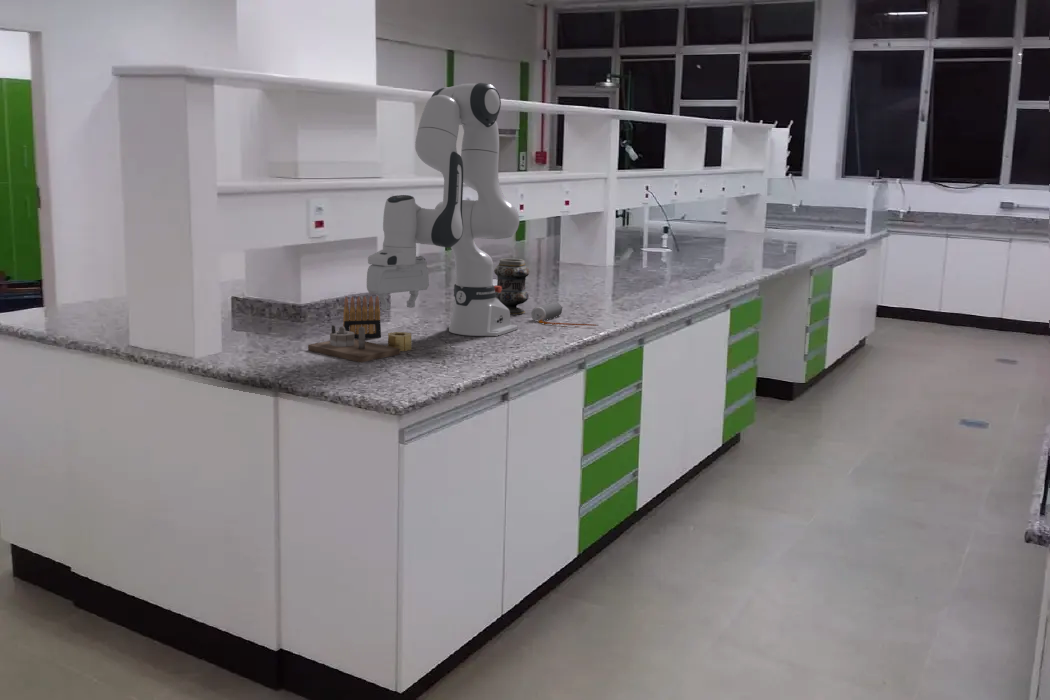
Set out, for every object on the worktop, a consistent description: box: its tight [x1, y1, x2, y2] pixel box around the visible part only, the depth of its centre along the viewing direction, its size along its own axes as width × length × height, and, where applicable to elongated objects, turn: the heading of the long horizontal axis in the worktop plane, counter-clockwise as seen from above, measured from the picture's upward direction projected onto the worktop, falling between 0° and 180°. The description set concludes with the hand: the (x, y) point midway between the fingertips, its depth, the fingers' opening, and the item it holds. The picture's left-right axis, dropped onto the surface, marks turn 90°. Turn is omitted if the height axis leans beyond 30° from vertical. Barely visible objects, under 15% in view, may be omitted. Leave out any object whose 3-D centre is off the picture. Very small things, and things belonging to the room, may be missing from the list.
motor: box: [530, 301, 600, 327], centre depth 306 cm, size 23×22×5 cm
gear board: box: [307, 325, 401, 363], centre depth 248 cm, size 14×20×7 cm
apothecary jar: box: [493, 257, 530, 315], centre depth 316 cm, size 12×12×18 cm
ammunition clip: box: [342, 295, 382, 339], centre depth 266 cm, size 11×2×12 cm, turn 110°
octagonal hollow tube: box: [387, 331, 412, 352], centre depth 254 cm, size 6×6×4 cm
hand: (398, 308), depth 252 cm, fingers open, 8 cm apart
